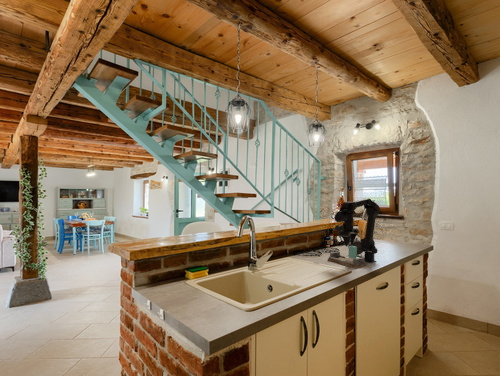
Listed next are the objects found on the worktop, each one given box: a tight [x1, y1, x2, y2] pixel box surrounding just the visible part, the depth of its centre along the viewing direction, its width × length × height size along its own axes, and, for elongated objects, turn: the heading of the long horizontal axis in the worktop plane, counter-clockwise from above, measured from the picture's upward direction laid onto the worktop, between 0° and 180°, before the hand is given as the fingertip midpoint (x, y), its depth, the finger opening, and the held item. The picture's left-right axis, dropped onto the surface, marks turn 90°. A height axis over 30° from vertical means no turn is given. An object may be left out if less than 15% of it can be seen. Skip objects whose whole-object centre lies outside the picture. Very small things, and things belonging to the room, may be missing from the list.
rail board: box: [327, 251, 368, 269], centre depth 188 cm, size 12×22×5 cm, turn 29°
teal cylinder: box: [345, 246, 360, 263], centre depth 183 cm, size 7×6×10 cm
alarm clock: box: [347, 233, 364, 257], centre depth 210 cm, size 11×5×16 cm, turn 84°
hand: (349, 245), depth 182 cm, fingers open, 9 cm apart
